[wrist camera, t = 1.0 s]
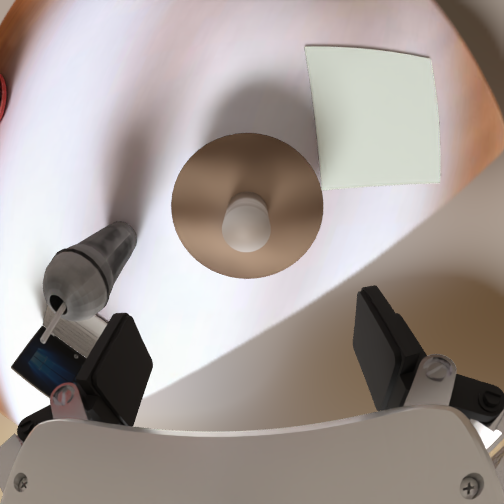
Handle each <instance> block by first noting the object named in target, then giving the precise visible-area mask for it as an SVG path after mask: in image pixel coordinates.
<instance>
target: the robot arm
mask: <svg viewBox="0 0 504 504" xmlns="http://www.w3.org/2000/svg"><path fill="white" fill-rule="evenodd" d="M353 348H354V351H355V354H356V356H357V359H358V361H359V363H360V366H361V369H362V372H363V374H364V377H365V379H366V382H367V385H368V387H369V390H370V392H371V395H372V398H373V401H374V404H375V407H376V409H377V410H378V412H374V413H370V414H365V415H360V416H356V417H351V418H346V419H340V420H335V421H329V422H323V423H318V424H311V425H304V426H296V427H289V428H278V429H267V430H253V431H231V432H230V431H228V432H199V431H173V430H160V429H149V428H139V427H132V426H133V425H134V422H135V419H136V416H137V413H138V409H139V406H140V403H141V400H142V397H143V394H144V391H145V388H146V385H147V382H148V379H149V377H150V374H151V371H152V368H153V362H152V359H151V357H150V355H149V353H148V351H147V349H146V347H145V344H144V342H143V340H142V338H141V336H140V333H139V331H138V329H137V327H136V324H135V322H134V320H133V318H132V317H131V316H129V314H128V313H115V314H114V315H113V316H112V318H111V319H110V321H109V322H108V324H107V326H106V327H105V329H104V330H103V332H102V334H101V335H100V337H99V339H98V340H97V342H96V343H95V345H94V347H93V349H92V350H91V352H90V354H89V355H88V357H87V359H86V360H85V362H84V364H83V366H82V367H81V369H80V371H79V373H78V375H77V376H76V378H75V379H76V381H77V384H76V385H75V384H73V383H70V382H69V383H63V384H61V385H59V386H57V387H56V388H55V389H54V390H53V392H52V393H51V396H50V404H51V405H49V406H47V407H45V408H43V409H41V410H39V411H37V412H35V413H33V414H32V415H30V416H28V417H26V418H24V419H23V420H22V421H21V422H20V424H19V426H18V429H17V434H18V435H15V434H14V435H12V436H11V437H10V438H9V439H8V440H7V441H6V442H5V443H4V444H2V445H1V446H0V488H1V490H2V492H3V496H2V500H1V503H0V504H504V393H503V392H502V390H501V389H500V388H498V387H497V386H494V385H491V384H488V383H485V382H481V381H478V380H475V379H472V378H468V377H465V376H462V375H459V374H456V366H455V364H454V363H453V361H452V360H451V359H449V358H448V357H446V356H444V355H440V354H432V355H429V356H427V355H426V353H425V352H424V351H423V349H422V347H421V345H420V344H419V342H418V341H417V339H416V338H415V336H414V335H413V333H412V332H411V330H410V329H409V327H408V325H407V324H406V322H405V321H404V320H403V318H402V317H401V315H400V314H398V313H395V312H394V310H393V309H392V307H391V306H390V304H389V303H388V302H387V300H386V299H385V297H384V296H383V294H382V293H381V292H380V290H379V289H378V287H377V286H369V287H363V288H362V290H361V291H360V292H358V294H357V306H356V316H355V327H354V336H353Z"/></svg>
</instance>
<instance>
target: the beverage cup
mask: <svg viewBox="0 0 504 504" xmlns="http://www.w3.org/2000/svg"><path fill="white" fill-rule="evenodd" d="M136 243H137V238H136V234H135V232H134V230H133V229H132V227H131V226H129V225H128V224H126V223H124V222H115V223H113V224H111V225H109V226H107V227H105V228H103V229H101V230H100V231H98V232H96V233H95V234H93V235H91V236H90V237H88V238H86V239H85V240H83V241H81V242H80V243H78V244H76V245H73V246H71V247H69V248H67V249H63V250H61V251H59V252H57V253H56V255H55V256H54V257H53V259H52V261H51V262H50V263H49V265H48V266H47V268H46V271H45V274H44V279H43V291H44V296H45V299H46V301H47V304H48V305H49V307H50V308H51V310H52V311H53V312H54V313H55V316H54V317H53V319H52V320H51V322H50V324H49V325H48V327H47V328H46V330H45V332H44V333H43V335H42V337H41V339H40V341H41V342H42V343H43V344H44V343H46V341H47V339H48V337H49V336H50V334H51V332H52V330H53V329H54V327H55V325H56V324H57V322H58V320H59V319H60V317H61V318H63V319H65V320H68V321H75V322H79V321H83V320H87V319H90V318H92V317H93V316H94V315H95V314H97V313H98V312H99V311H100V310H102V309H103V308H104V307H105V306H106V304H107V302H108V300H109V295H110V293H111V290H112V288H113V285H114V283H115V281H116V279H117V278H118V276H119V274H120V273H121V271H122V269H123V267H124V266H125V264H126V262H127V261H128V259H129V258H130V256H131V254H132V252H133V250H134V248H135V246H136Z"/></svg>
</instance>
